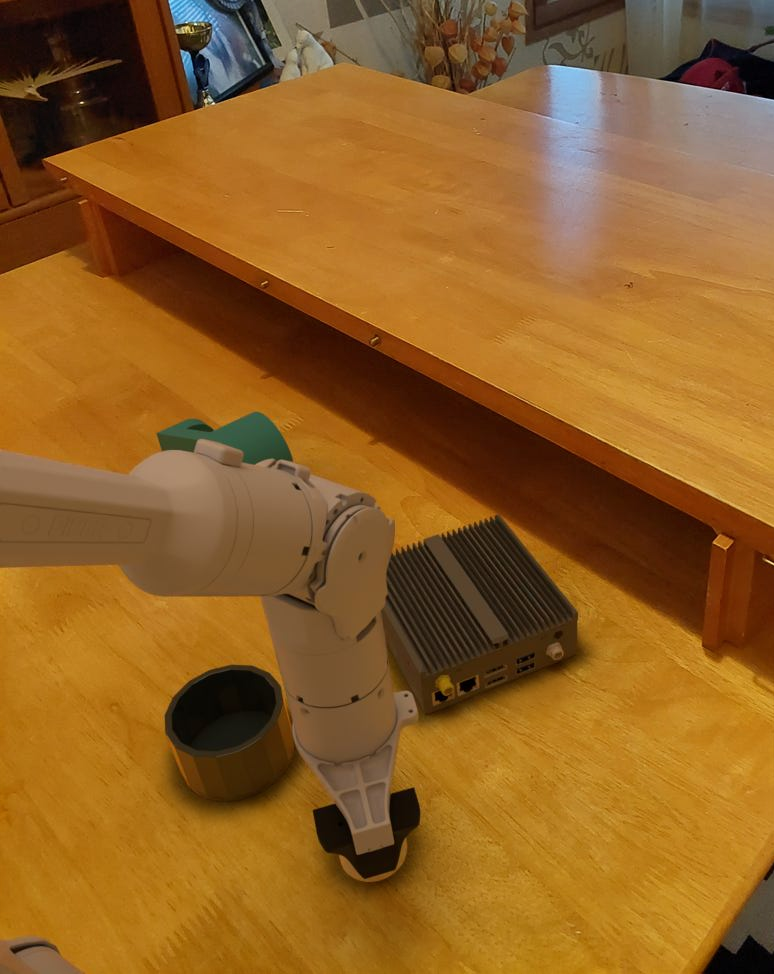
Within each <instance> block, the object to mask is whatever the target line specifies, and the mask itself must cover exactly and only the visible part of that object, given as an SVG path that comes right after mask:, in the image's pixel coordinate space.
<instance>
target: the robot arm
mask: <svg viewBox="0 0 774 974" xmlns="http://www.w3.org/2000/svg"><path fill="white" fill-rule="evenodd" d="M243 456H244V453H243V452H242V451H241V450H238V449H236V448H233V447H230V446H227V445H224V444H221V443H219V442H214V441H210V440H205V439H199V440H198V441H197V443H196V446H195V449H194V453H192V452H187V451H182V450H167V451H162V450H161V451H159V452H156V453H154V454H150V455H149V456H147V457H146V458H144V459H143V460H141V461H140V462H139V463H138V464H136V465H135V466H134V467H133V468H132V469H131V470H130V471H129V472H128V474H126V473H120V472H117V471H116V472H115V471H112V470H111V471H110V470H106V469H101V468H95V467H91V466H88V465H87V466H86V465H81V464H76V463H71V462H66V461H61V460H56V459H51V458H46V457H41V456H36V455H31V454H26V453H21V452H16V451H11V450H6V449H1V448H0V569H10V568H11V569H12V568H13V569H15V568H49V567H50V568H51V567H53V568H54V567H83V566H84V567H87V566H118V567H119V568H120V570H121V572H122V573H123V574H124V576H125V577H126V578H127V580H128V581H130V582H131V584H132V585H134V586H135V587H137V589H139V590H140V591H142V592H145V593H146V594H148V595H152V596H155V597H162V598H163V597H164V598H170V597H171V598H173V597H176V598H178V597H179V598H180V597H181V598H182V597H184V598H185V597H187V598H188V597H189V598H190V597H193V598H197V597H198V598H201V597H202V598H203V597H205V598H206V597H208V598H210V597H212V598H214V597H215V598H218V597H220V598H221V597H223V598H224V597H226V598H227V597H230V598H232V597H235V598H237V597H239V598H240V597H243V598H245V597H247V598H248V597H250V598H251V597H255V598H256V597H257V598H258V597H259V598H260V601H261V604H262V608H263V612H264V617H265V620H266V623H267V627H268V631H269V635H270V639H271V643H272V647H273V650H274V654H275V659H276V662H277V666H278V669H279V673H280V677H281V681H282V684H283V688H284V689H283V690H284V692H285V697H286V700H287V704H288V708H289V712H290V715H291V720H292V724H291V726H292V732H293V738H294V743H295V745H294V746H295V749H296V750H297V752H298V754H299V755H300V757H301V758H302V759H303V761H304V762H305V764H306V765H307V766H308V768H309V769H310V771H311V772H312V774H313V775H314V777H315V778H316V779H317V781H318V782H319V784H320V785H321V786H322V787H323V789H324V790H325V791H326V793H327V794H328V796H329V797H330V798H331V800H332V801H333V802H334V803H332V804H329V805H325V806H322V807H318V808H314V809H312V815H313V821H314V826H315V831H316V836H317V840H318V842H319V844H320V846H321V848H322V849H323V850H324V852H325V853H328V854H335V855H338V856H339V855H342V856H344V857H345V858H346V859H347V860H348V861H349V862H350V863H351V865H352V866H353V867H354V869H355V870H356V871H357V872H358V874H359V875H360V876H361V877H362V878H364V879H367V878H370V877H374V876H377V875H380V874H384V873H387V872H390V871H394V870H395V869H396V867H397V864H398V861H399V857H400V852H401V848H402V844H403V841H404V839H405V838H406V839H407V837H408V836H409V834H410V833H411V832H413V831H414V830H415V829H417V828H418V827H419V825H420V821H421V806H420V802H419V798H418V795H417V792H416V788H415V787H410V788H406V789H402V790H399V791H394V792H392V788H393V782H394V777H395V776H394V775H395V769H396V763H397V756H398V750H399V744H400V737H401V733H402V730H404V728H405V727H407V726H412V725H413V724H415V723H417V722H418V721H419V710H418V706H417V703H416V700H415V699H416V698H415V696H414V694H413V692H412V691H410V690H400V691H396V692H395V691H394V686H393V685H394V684H393V680H392V673H391V667H390V662H389V661H390V660H389V653H388V646H387V644H386V640H385V634H384V628H383V621H382V615H381V610H382V609H383V607H384V606H385V597H386V596H387V594H388V590H387V583H386V573H387V567H388V564H389V560H390V557H391V554H392V553H393V550H394V544H395V537H396V521H395V518H390V520H389V517H387V515H386V514H385V513H384V512H383V511H382V510H381V507H380V505H378V504H376V503H377V500H376V498H375V497H374V496H372V495H371V494H370V493H367V492H364V491H361V490H357V489H356V488H352V487H351V486H350V487H349V486H346V485H343V484H341V483H338V482H335V481H332V480H330V479H326V478H324V477H321V476H318V475H315V474H313V473H311V469H310V468H309V467H308V466H305V465H303V464H300V463H297V462H295V461H293V462H291V461H286V460H279V461H276V460H275V459H267V460H264V461H261V462H259V463H257V464H255V465H252V464H247V463H242V460H243ZM0 974H86V973H85V972H84V971H82V970H81V969H80V968H79V967H77V966H76V965H75V964H73V963H72V962H71V961H69V960H68V959H67V958H66V957H64V956H63V955H61V953H60V950H59V949H58V947H57V945H55V943H53V942H52V941H50V940H48V939H47V938H45V937H42V936H38V935H25V936H20V937H16V938H11V939H10V938H7V939H2V938H0Z"/></svg>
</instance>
